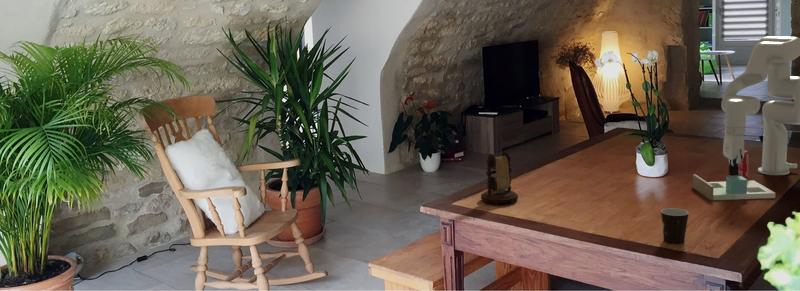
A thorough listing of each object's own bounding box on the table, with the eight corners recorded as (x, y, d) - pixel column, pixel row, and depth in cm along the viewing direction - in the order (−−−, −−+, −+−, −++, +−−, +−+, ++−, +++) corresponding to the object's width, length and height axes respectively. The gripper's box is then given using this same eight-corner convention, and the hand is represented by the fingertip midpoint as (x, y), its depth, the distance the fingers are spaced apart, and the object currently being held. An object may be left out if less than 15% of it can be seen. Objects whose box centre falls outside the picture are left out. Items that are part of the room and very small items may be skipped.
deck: (753, 185, 329) (754, 172, 328) (775, 198, 309) (776, 184, 308) (692, 187, 329) (693, 174, 328) (710, 200, 310) (711, 186, 309)
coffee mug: (664, 235, 270) (665, 207, 268) (690, 239, 266) (691, 210, 264) (654, 245, 261) (654, 215, 259) (680, 249, 256) (681, 219, 254)
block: (741, 189, 315) (741, 176, 314) (746, 193, 310) (747, 179, 309) (725, 189, 316) (726, 176, 315) (730, 193, 310) (731, 180, 309)
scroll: (494, 208, 311) (493, 158, 307) (474, 200, 323) (473, 152, 319) (525, 202, 317) (525, 153, 313) (504, 194, 330) (503, 147, 326)
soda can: (749, 182, 333) (750, 152, 330) (731, 182, 334) (732, 152, 331) (745, 178, 339) (747, 149, 337) (727, 178, 341) (729, 149, 338)
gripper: (718, 127, 323) (716, 170, 327) (733, 134, 308) (731, 180, 312) (736, 125, 322) (735, 169, 326) (752, 133, 308) (750, 179, 312)
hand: (733, 174), depth 319 cm, fingers closed
